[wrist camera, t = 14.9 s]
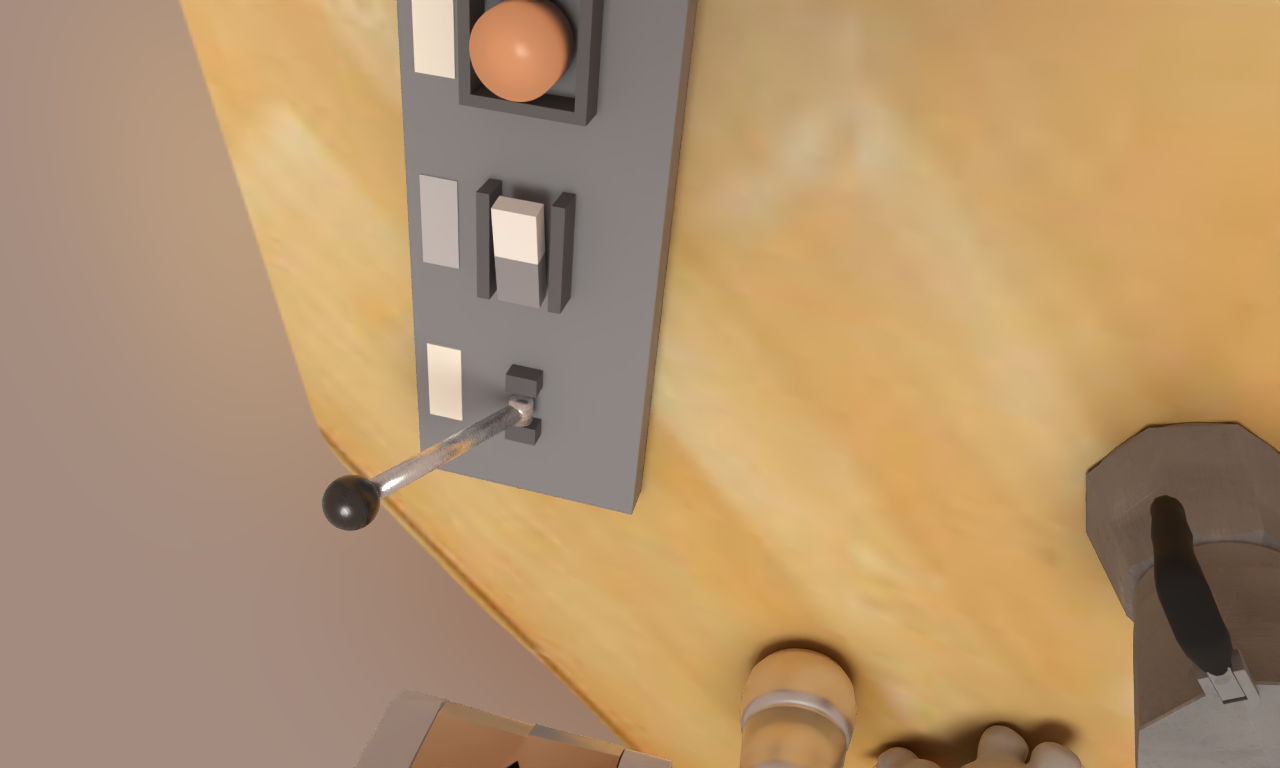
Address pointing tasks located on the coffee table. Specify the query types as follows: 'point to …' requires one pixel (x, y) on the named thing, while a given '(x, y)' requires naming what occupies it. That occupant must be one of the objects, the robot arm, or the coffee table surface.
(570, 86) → the control panel
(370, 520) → the toggle lever
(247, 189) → the coffee table surface
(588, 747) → the robot arm
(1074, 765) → the round bodied animal figurine
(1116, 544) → the coffeepot
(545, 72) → the push button
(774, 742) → the plastic bottle
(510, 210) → the rocker switch
